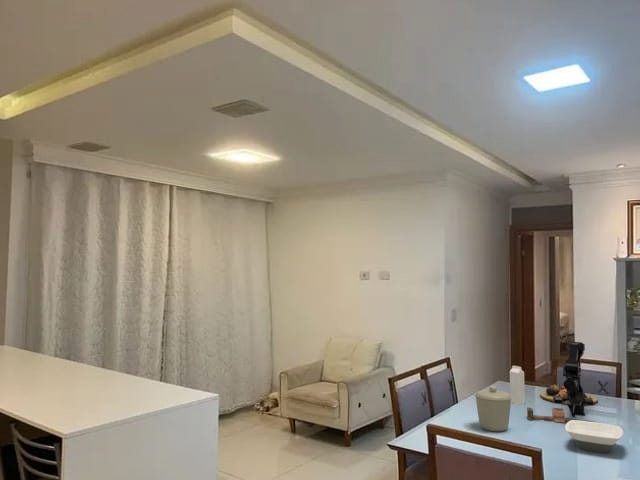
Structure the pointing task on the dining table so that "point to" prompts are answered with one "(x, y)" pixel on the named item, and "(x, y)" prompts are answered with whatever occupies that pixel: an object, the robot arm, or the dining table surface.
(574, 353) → the robot arm
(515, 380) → the milk
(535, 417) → the rail
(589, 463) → the dining table surface
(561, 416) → the block
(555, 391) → the wooden plate with food
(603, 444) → the bowl
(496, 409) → the canister
